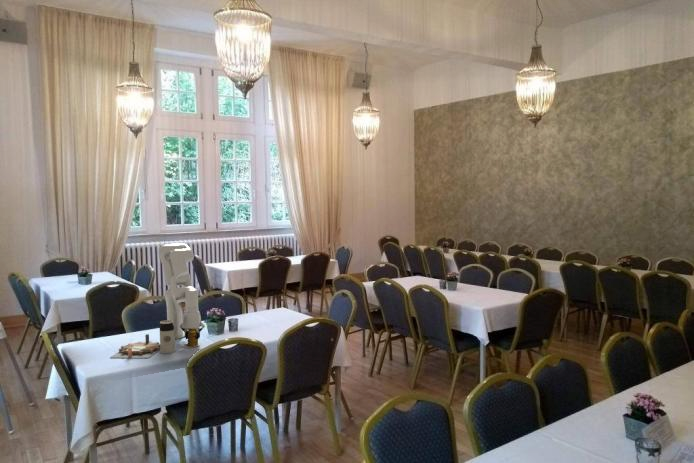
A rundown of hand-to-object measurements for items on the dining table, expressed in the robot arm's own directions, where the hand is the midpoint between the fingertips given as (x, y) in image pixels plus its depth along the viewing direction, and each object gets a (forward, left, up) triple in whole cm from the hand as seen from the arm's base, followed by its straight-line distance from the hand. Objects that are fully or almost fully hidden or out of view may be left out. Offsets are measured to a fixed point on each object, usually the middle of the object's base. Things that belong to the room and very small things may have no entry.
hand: (192, 338), depth 329 cm
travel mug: (+12, -11, -5) cm, 17 cm away
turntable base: (+12, -28, -5) cm, 31 cm away
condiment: (0, -1, -5) cm, 5 cm away
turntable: (+10, -28, -5) cm, 30 cm away
